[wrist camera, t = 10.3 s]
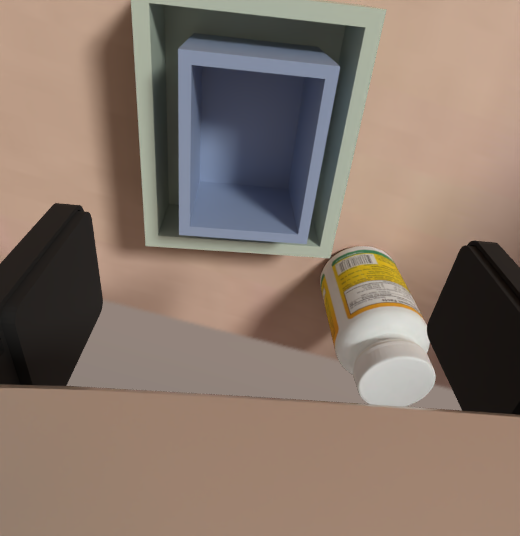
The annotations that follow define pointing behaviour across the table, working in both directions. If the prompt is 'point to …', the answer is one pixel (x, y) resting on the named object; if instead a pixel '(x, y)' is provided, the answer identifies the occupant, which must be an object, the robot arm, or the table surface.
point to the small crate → (251, 136)
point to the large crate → (256, 28)
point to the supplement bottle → (377, 327)
